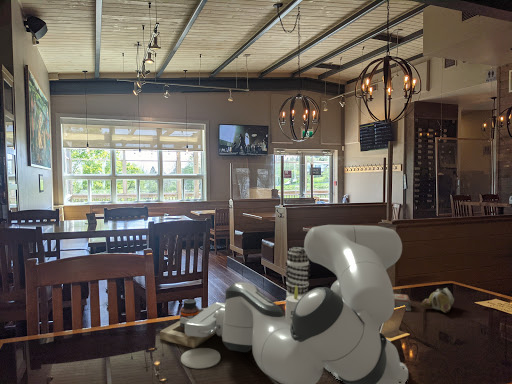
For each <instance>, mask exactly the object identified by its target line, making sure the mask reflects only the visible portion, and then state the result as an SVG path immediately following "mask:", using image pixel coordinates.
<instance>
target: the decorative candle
mask: <svg viewBox="0 0 512 384" xmlns="http://www.w3.org/2000/svg"><path fill="white" fill-rule="evenodd" d="M287 258H288V259H287V262H284V263H285V266H286V268H285V276H286V277H285V283H286V285H287V290H286V295H285V298H286V297H288V296H294V292H295V286H296V285H297V288H298V296H300V297H302V296H304V295H305V294H306V293H307V292H309V285H310V283H309V281H310V280H311V279H310V278H309V277H310V276H311V274H310V273H309V272H310V271H311V269H310V267H311V264H310V260H309V258H308V256H307V254H306V252H305V248H304V247H301V246H296V247H295V246H293V247H291V248H289V249H288V251H287ZM284 310H285V312H286V309H284Z"/></svg>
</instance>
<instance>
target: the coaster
mask: <svg viewBox="0 0 512 384" xmlns="http://www.w3.org/2000/svg"><path fill="white" fill-rule="evenodd" d="M220 360H221V354H220V352H219V351H217V350H216V349H213V348H209V347H197V348H196V347H195V348H191V349H189V350H186V351H185V352H184V353H182V355H181V356H180V362H181V363H182V364H183V366H185V367H188V368H191V369H198V370H199V369H208V368H210V367H214V366H216V365H217V364H218V363H219V362H221V361H220Z"/></svg>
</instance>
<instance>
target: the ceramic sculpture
mask: <svg viewBox="0 0 512 384" xmlns="http://www.w3.org/2000/svg"><path fill="white" fill-rule="evenodd" d="M454 302H455V298H454V296H453V294H452V293H451V291H450V290H449V288H448V287H445V288H440V287H438V288H437V289H436V290H435V291H433V292H432V293H430V295H429V297H428V298H425V299H424V300H422V301H421V303H420V304H419V306H420V307H421V308H422V307H423V308H424V309H426V308H427V309H428V308H430V307H431V308H432V309H434V310H436V311H440V312H443V313H445V314H446V313H449V312H450V311H451V308H452V306H453V304H454Z"/></svg>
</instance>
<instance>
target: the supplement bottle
mask: <svg viewBox="0 0 512 384" xmlns="http://www.w3.org/2000/svg"><path fill="white" fill-rule="evenodd" d="M182 303H183V306H182V307H181V308H180V312H179V313H180V314H179V319H180V318H181V317H182V316H187V318H188V319H190V318H193V317H195V316H196V315H197V314H199V309H200V308H199V307H198V306H197V301H196V300H195V299H193V298H192V299H191V298H188V299H185V300H183V302H182ZM180 332H182V333H185V324H183V323H180Z"/></svg>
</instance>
